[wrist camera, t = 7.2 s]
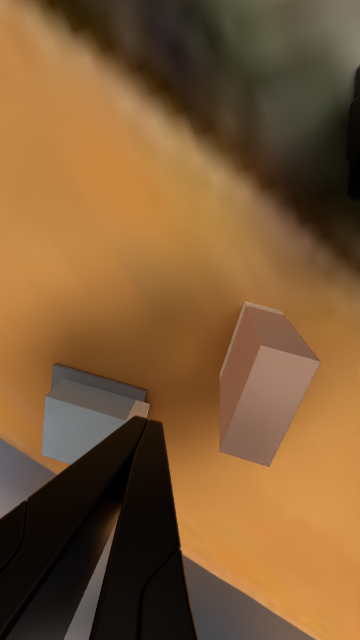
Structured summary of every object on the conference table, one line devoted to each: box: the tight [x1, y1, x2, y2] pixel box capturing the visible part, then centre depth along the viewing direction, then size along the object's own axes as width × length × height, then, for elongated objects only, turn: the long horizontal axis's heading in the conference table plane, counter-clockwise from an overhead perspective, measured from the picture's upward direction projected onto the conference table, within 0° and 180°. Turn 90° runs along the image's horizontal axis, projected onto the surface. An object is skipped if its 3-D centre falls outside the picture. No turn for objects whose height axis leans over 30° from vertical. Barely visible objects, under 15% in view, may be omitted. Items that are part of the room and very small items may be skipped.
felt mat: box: [51, 363, 147, 402], centre depth 23 cm, size 8×8×1 cm
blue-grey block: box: [41, 378, 150, 464], centre depth 21 cm, size 2×6×8 cm
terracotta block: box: [220, 301, 320, 467], centre depth 15 cm, size 2×6×8 cm, turn 166°
